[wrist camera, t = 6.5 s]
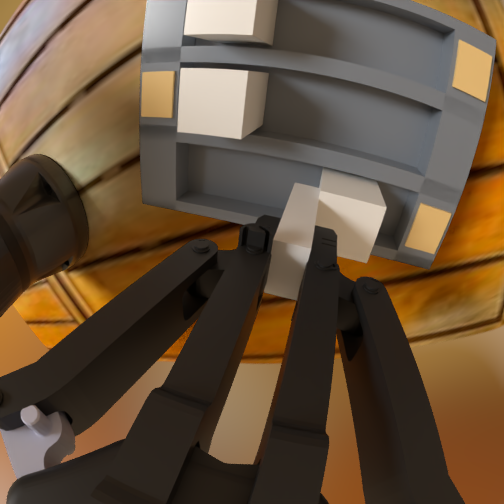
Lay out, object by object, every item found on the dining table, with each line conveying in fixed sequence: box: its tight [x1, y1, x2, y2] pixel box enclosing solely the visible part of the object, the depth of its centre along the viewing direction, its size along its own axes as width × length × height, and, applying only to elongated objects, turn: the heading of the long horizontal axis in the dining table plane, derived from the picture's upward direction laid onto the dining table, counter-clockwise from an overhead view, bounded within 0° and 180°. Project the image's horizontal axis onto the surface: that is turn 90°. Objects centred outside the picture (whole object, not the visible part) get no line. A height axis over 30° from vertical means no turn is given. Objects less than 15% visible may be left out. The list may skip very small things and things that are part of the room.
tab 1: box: [184, 0, 278, 46], centre depth 12 cm, size 4×4×5 cm
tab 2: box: [177, 68, 269, 139], centre depth 15 cm, size 4×4×5 cm
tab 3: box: [315, 167, 387, 263], centre depth 17 cm, size 4×4×5 cm
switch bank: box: [139, 0, 496, 269], centre depth 17 cm, size 22×17×4 cm
